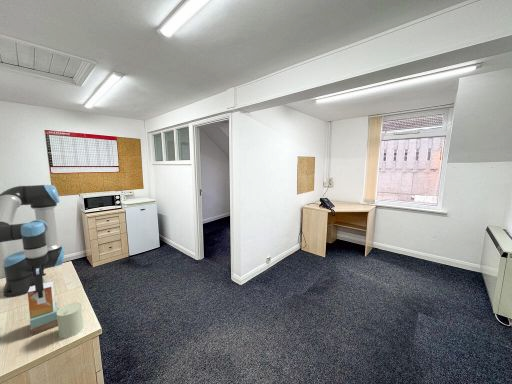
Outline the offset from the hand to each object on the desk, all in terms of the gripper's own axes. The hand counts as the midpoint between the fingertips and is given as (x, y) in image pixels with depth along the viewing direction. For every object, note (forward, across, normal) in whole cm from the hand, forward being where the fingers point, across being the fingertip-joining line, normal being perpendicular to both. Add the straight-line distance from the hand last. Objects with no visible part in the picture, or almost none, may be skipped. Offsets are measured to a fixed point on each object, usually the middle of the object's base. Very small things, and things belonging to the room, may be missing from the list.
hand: (41, 295), depth 102 cm
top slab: (+12, +1, 0) cm, 12 cm away
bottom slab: (+16, +1, 0) cm, 16 cm away
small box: (+8, +1, 0) cm, 8 cm away
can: (+15, +14, +9) cm, 23 cm away
